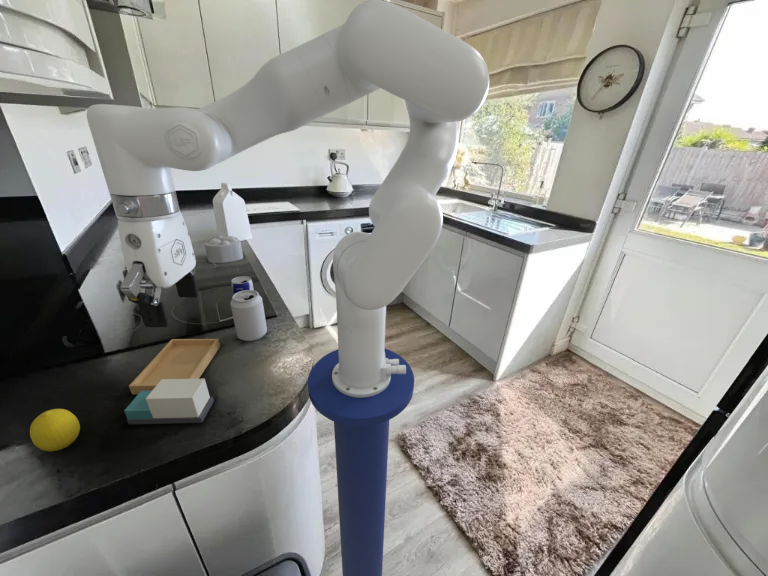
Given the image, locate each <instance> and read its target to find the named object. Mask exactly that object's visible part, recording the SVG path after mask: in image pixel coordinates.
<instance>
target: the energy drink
mask: <svg viewBox="0 0 768 576" xmlns="http://www.w3.org/2000/svg"><path fill="white" fill-rule="evenodd" d="M230 285H231V286H230V287H231V291H232V296H233V295H234V294H235V293H237V292H240V291H244V290H254V289H255V288H254V283H253V280H252V279H251V276H247V275H241V276H236V277H234V278H232V279H231V284H230ZM254 291H255V290H254Z"/></svg>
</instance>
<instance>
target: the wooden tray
mask: <svg viewBox="0 0 768 576" xmlns="http://www.w3.org/2000/svg"><path fill="white" fill-rule="evenodd" d="M220 348H221V344H220V339H219V338H172V339H170V340H169V342H167V343H166V344H165V346H164V347H163V348H162V349H161V350H160V351H159V352H158V354H156V355H155V357H154V358H153V359H152V360H151V361H150V362H149V363H148V365H146V366H145V367H144V369H143V370H142V371H141V372H140V373H139V374H138V375H137V376H136V377H135V378H134V380H133V381H131V383H130V384H129V385H128V388H129V390H130V393H131V395H138V394H139V393H140V392H141V391H152V390H153V389H154V388H155V387H156V385H157V384H158V383H159V382H160V381H161V379H201V376H202V375H203V373H204V372H205V370H206V369H207V368H208V366H209V364H210V362H211V361H212V360H213V358H214V357H215V355H216V354H217V352H218V351H219V349H220Z"/></svg>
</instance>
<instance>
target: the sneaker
mask: <svg viewBox="0 0 768 576" xmlns="http://www.w3.org/2000/svg"><path fill="white" fill-rule="evenodd" d="M214 403H215V399H214V396H210V392H209V389H208V386H207V382H206V379H205V378H199V379H161V381H160V382H159V383H158V384H157V385H156V387H155V388H154V389H153V390H152V391H141V392H140V393H139V394H136V396H135V397H134V399H132V401H131V402H130V403H129V404H128V406H126V408H125V409H124V411H123V412H124V415H125V416H126V422H127V425H162V424H163V425H164V424H165V425H167V424H202V423H203V422H204V420H205V418H206V416H207V415H208V414H209V411H210V409H211V407H212V406H213V404H214Z"/></svg>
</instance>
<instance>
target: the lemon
mask: <svg viewBox="0 0 768 576" xmlns="http://www.w3.org/2000/svg"><path fill="white" fill-rule="evenodd" d="M80 431H81V425H80V421H79V419H78V418H77V416H76V415H75V414H73V412H71V411H70V410H69V409H64V408H53V409H52V408H51V409H49V410H46V411H43V412H42V413H40V414H39V415H37V417H36V418H34V420H33V421H32V422H31V424H30V428H29V436H30V439H31V441H32V444H33V445H34V446H35V447H36V448H38V449H40V450H41V451H44V452H45V451H46V452H56V451H60V450H63V449H66V448H68V447H69V446H70V445H72V444H73V443H74V442H75V441H76V439H77V438H78V436H79V434H80Z"/></svg>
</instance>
